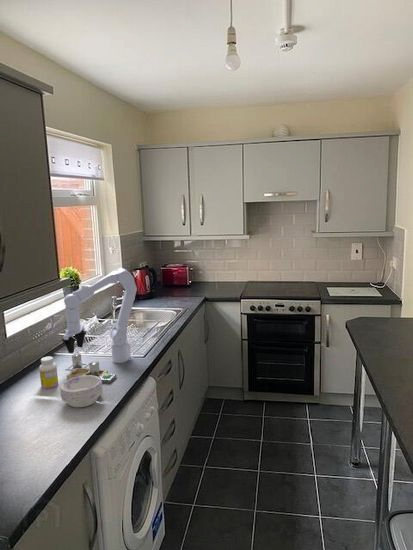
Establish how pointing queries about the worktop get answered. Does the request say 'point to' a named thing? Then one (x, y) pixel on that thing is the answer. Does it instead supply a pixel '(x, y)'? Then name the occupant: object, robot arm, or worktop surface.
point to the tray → (74, 369)
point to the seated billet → (94, 369)
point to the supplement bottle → (48, 373)
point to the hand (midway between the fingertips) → (75, 350)
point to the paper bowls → (81, 390)
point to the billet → (76, 361)
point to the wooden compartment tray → (83, 373)
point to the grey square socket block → (106, 380)
